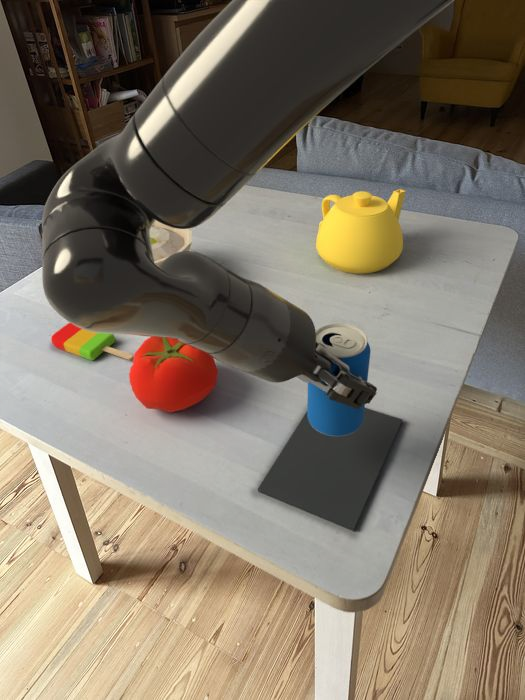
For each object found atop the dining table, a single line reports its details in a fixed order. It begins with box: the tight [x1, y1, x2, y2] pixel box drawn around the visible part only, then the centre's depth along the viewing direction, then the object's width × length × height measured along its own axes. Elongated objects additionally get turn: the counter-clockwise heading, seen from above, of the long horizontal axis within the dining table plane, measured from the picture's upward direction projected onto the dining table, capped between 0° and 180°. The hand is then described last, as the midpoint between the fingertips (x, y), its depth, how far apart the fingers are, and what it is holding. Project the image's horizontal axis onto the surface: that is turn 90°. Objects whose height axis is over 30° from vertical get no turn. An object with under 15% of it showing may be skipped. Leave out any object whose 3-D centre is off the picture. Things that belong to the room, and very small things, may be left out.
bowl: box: [149, 220, 193, 267], centre depth 98 cm, size 19×19×10 cm
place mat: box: [257, 407, 403, 532], centre depth 67 cm, size 18×12×1 cm, turn 152°
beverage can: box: [306, 322, 371, 436], centre depth 59 cm, size 6×6×12 cm
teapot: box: [315, 188, 406, 275], centre depth 103 cm, size 20×19×13 cm
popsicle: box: [50, 322, 134, 361], centre depth 86 cm, size 6×15×2 cm, turn 62°
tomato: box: [128, 336, 219, 413], centre depth 75 cm, size 13×12×8 cm
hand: (348, 377), depth 60 cm, fingers closed on beverage can, 6 cm apart
